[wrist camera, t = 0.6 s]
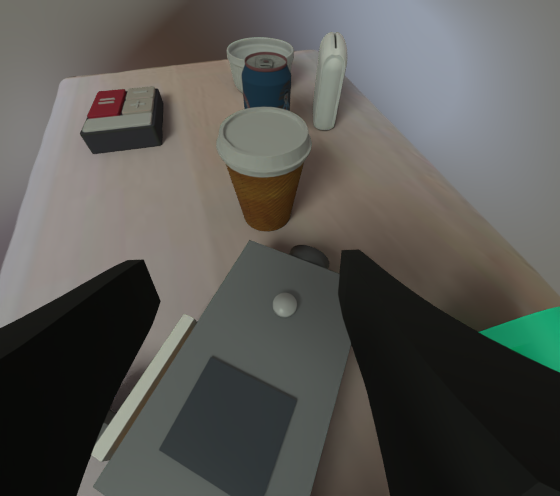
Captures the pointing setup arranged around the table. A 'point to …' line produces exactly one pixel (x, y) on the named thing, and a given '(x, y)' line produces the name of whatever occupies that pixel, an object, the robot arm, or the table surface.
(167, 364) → the side door
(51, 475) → the robot arm
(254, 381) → the camera body
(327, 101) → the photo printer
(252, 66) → the soda can
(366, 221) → the table surface
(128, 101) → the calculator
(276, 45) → the ramekin
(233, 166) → the disposable coffee cup
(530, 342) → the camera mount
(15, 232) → the table surface
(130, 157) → the table surface
